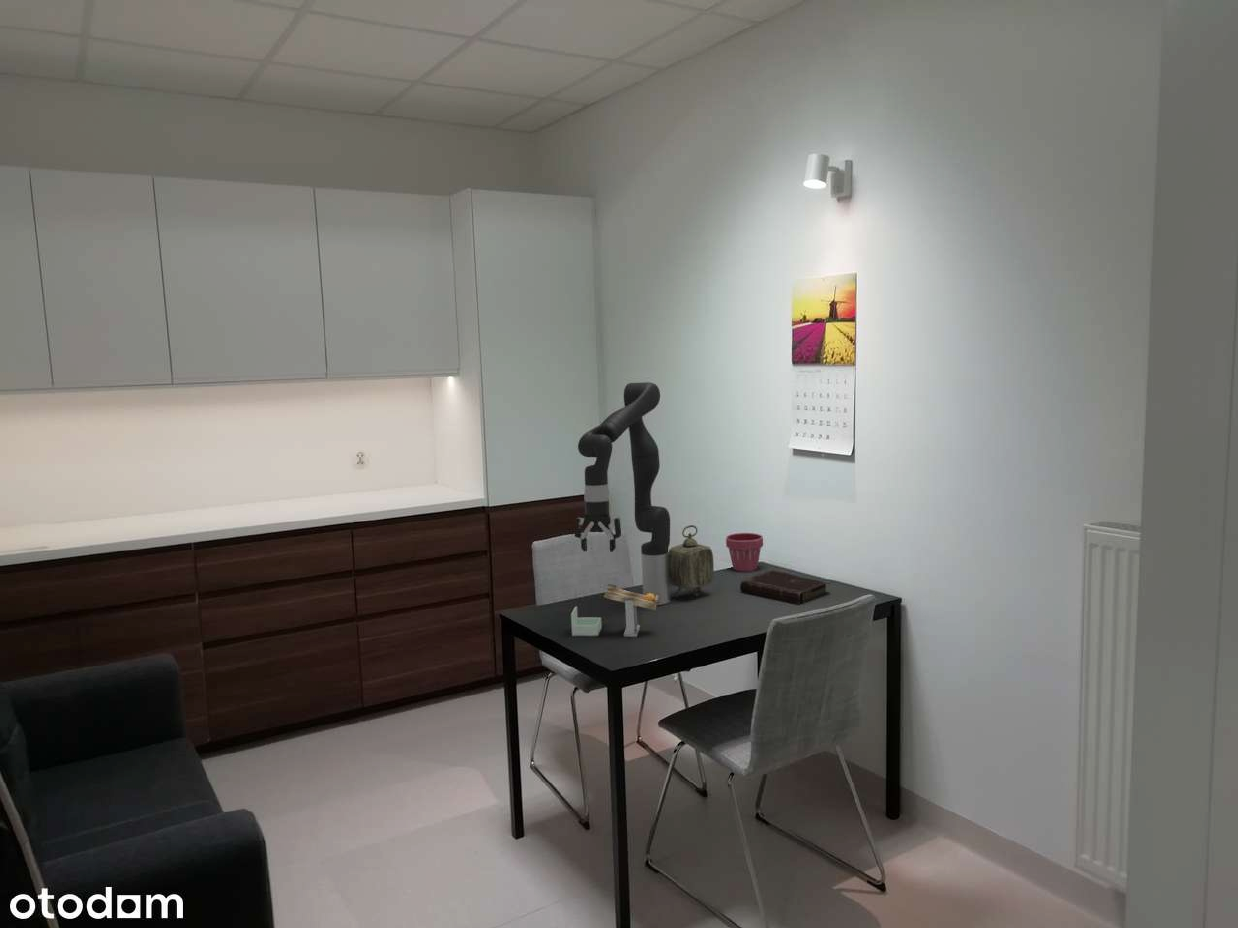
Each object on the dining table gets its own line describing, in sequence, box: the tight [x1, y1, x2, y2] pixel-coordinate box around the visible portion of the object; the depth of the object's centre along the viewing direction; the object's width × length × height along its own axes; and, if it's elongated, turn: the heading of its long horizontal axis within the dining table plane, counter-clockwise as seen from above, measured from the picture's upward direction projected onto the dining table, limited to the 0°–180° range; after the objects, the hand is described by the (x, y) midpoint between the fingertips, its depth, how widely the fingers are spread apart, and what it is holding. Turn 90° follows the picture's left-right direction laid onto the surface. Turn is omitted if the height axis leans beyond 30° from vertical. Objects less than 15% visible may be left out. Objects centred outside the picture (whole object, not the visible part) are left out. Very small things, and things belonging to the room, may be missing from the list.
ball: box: [645, 593, 655, 602], centre depth 272 cm, size 3×3×3 cm
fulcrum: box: [623, 600, 641, 638], centre depth 274 cm, size 4×9×11 cm, turn 173°
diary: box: [739, 570, 831, 606], centre depth 310 cm, size 19×25×5 cm
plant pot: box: [725, 532, 764, 573], centre depth 346 cm, size 14×14×13 cm
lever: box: [603, 583, 659, 611], centre depth 276 cm, size 16×12×3 cm
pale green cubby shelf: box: [570, 606, 603, 637], centre depth 276 cm, size 8×8×7 cm
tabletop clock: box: [668, 524, 715, 598], centre depth 310 cm, size 14×9×25 cm, turn 128°
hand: (598, 551), depth 276 cm, fingers open, 8 cm apart
